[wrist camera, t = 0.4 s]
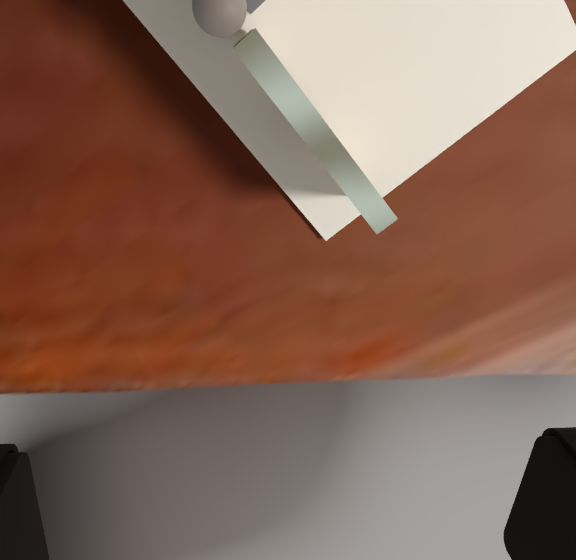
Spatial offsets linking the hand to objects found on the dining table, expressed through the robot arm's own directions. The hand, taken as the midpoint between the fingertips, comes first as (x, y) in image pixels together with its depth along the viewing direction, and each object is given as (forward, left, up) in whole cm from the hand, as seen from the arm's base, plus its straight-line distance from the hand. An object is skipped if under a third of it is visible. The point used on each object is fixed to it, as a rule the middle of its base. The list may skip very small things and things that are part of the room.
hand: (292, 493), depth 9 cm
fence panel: (-4, 0, -26) cm, 26 cm away
